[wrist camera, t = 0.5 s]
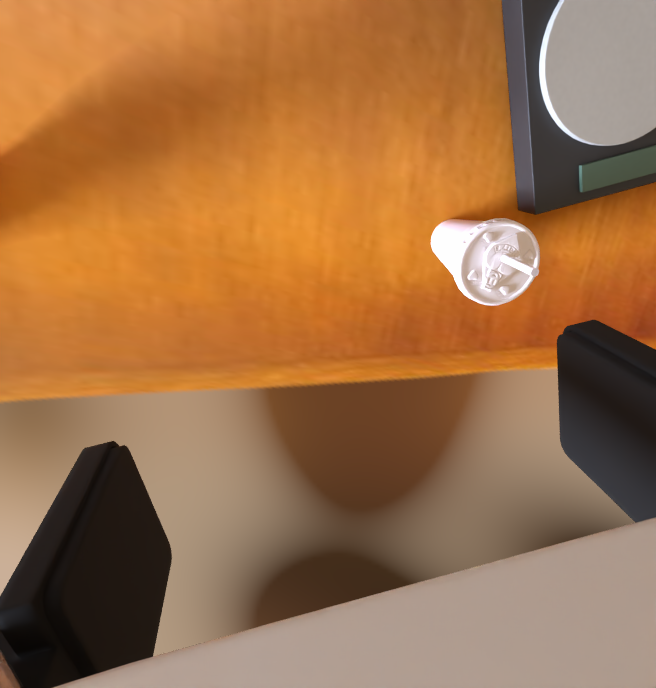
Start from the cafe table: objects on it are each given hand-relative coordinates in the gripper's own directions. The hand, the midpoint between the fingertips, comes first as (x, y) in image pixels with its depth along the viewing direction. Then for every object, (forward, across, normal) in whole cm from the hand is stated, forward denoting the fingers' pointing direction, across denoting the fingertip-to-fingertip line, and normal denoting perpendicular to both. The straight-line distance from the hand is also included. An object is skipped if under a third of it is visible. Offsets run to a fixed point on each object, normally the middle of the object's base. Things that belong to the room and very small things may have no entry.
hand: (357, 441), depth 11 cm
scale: (+35, -28, -5) cm, 45 cm away
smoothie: (+35, -15, +5) cm, 38 cm away
